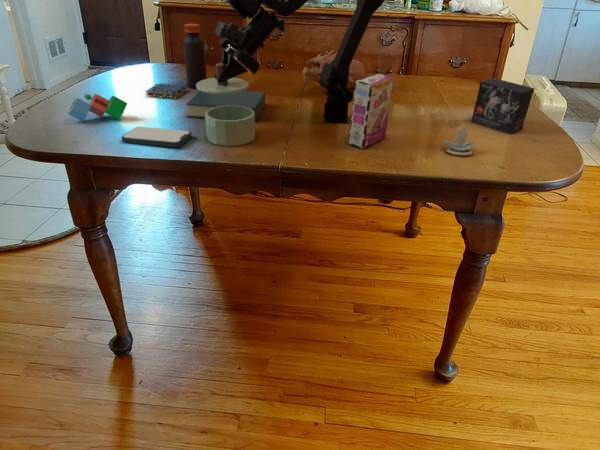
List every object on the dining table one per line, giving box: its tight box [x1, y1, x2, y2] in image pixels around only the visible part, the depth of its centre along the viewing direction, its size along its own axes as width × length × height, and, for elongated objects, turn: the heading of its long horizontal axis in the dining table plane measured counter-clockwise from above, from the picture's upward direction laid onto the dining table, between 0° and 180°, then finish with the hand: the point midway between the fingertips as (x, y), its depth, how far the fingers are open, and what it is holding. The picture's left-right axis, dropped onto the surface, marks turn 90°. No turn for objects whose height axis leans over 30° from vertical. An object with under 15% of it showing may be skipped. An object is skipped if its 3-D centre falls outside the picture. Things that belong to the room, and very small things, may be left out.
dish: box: [204, 105, 256, 147], centre depth 119 cm, size 13×13×6 cm
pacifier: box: [444, 126, 475, 157], centre depth 114 cm, size 7×6×6 cm
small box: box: [471, 77, 535, 134], centre depth 131 cm, size 13×7×12 cm, turn 40°
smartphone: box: [121, 126, 193, 148], centre depth 117 cm, size 9×2×16 cm
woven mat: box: [145, 82, 187, 100], centre depth 151 cm, size 10×11×2 cm
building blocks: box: [67, 93, 128, 122], centre depth 127 cm, size 8×8×12 cm
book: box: [185, 90, 266, 123], centre depth 137 cm, size 20×16×4 cm
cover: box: [196, 62, 250, 94], centre depth 117 cm, size 14×14×6 cm
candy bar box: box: [348, 73, 395, 150], centre depth 116 cm, size 11×5×16 cm, turn 141°
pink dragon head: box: [302, 49, 366, 88], centre depth 155 cm, size 13×15×25 cm
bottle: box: [182, 23, 208, 90], centre depth 155 cm, size 7×7×20 cm
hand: (217, 80), depth 117 cm, fingers closed on cover, 3 cm apart
